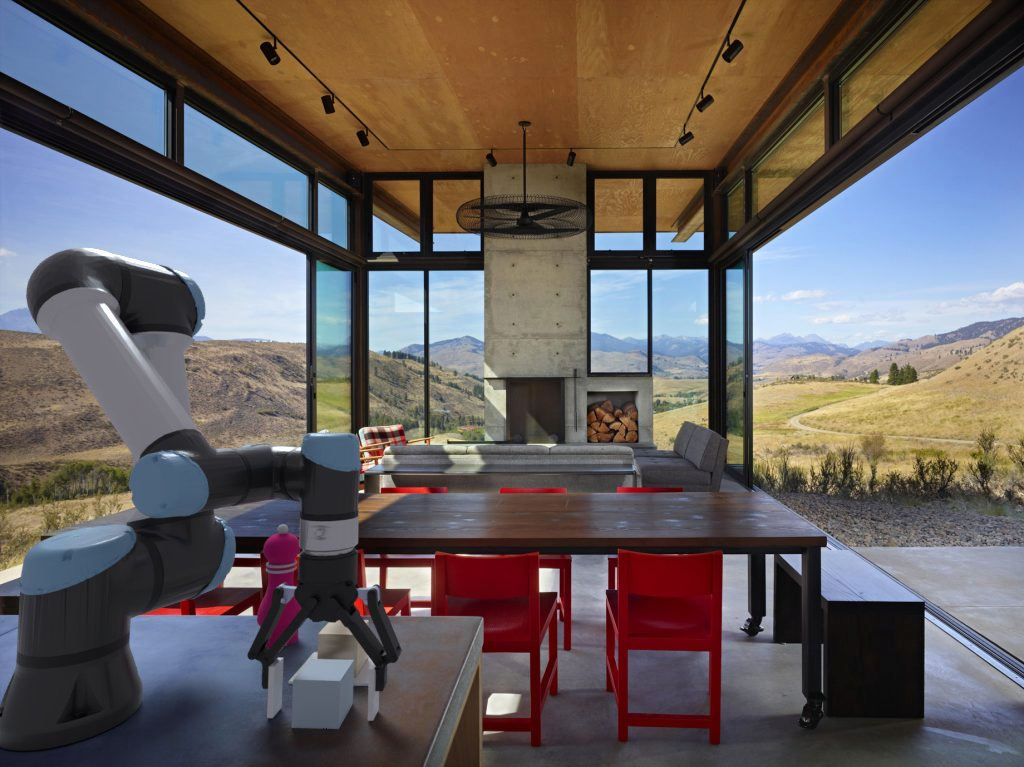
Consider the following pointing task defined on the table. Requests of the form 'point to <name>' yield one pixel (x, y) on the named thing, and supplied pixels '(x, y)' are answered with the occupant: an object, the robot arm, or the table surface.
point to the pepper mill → (280, 579)
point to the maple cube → (340, 645)
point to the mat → (358, 680)
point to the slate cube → (322, 694)
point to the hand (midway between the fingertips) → (323, 714)
